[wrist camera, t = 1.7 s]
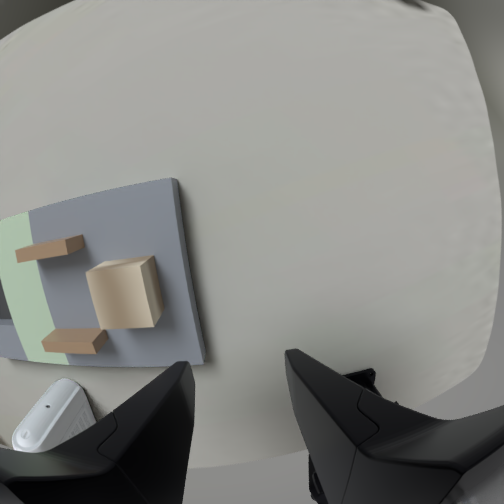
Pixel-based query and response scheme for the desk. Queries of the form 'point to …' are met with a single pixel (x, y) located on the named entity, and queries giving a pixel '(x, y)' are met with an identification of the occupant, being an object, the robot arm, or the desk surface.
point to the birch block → (126, 293)
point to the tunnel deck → (76, 285)
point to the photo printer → (54, 418)
